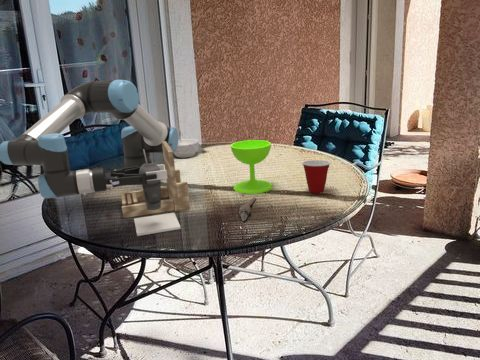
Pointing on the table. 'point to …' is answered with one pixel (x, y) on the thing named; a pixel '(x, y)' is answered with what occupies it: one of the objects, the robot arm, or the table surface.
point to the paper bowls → (186, 148)
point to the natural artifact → (246, 209)
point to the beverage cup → (151, 186)
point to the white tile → (156, 224)
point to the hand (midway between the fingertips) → (165, 171)
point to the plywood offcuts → (129, 199)
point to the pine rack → (162, 191)
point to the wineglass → (251, 164)
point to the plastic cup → (316, 175)
